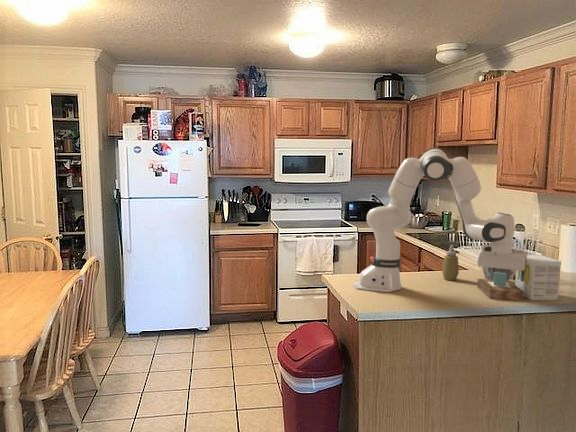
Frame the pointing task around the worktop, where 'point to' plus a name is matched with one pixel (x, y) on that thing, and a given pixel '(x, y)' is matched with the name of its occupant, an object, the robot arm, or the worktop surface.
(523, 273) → the supplement box
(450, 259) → the squeeze bottle
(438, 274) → the worktop surface
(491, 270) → the small grey backpack
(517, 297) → the walnut plinth
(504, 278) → the teal cube
